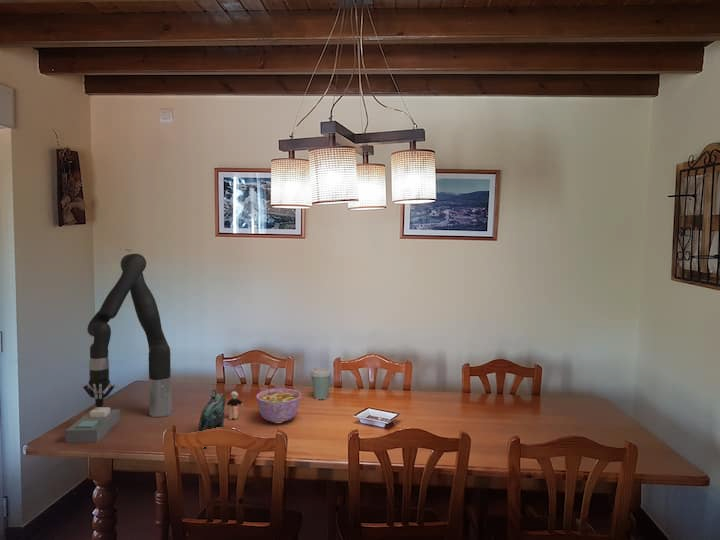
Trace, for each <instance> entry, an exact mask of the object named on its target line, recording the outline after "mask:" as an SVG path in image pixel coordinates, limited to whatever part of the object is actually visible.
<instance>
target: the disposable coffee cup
mask: <svg viewBox="0 0 720 540" xmlns="http://www.w3.org/2000/svg"><path fill="white" fill-rule="evenodd" d="M331 375H332V372H331V371H330V369H328V368H324V367H314V368H312V369H311V371H310V376H311V385H312V391H313V397H314V399H315V398H318V399H324V398H327V399H328V395H329V389H330V383H331V378H332V377H331Z"/></svg>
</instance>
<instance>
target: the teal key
mask: <svg viewBox="0 0 720 540" xmlns="http://www.w3.org/2000/svg"><path fill="white" fill-rule="evenodd" d="M98 423H99V421H83V422H81V423H80V424H79V425H78V426H77V428H93V427H95V426H96V425H97V424H98Z"/></svg>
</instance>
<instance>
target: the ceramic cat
mask: <svg viewBox="0 0 720 540" xmlns="http://www.w3.org/2000/svg"><path fill="white" fill-rule="evenodd" d="M225 406H226V396H225V394H224V393H220V392H219V391H218V390H217V389H213V390H212V391H211V392H210V399H209V401H208V402H207V403H205V405H204V407H203V409H202V411H201V414H200V417H199V423H198V432H199V431H203V430H206V429H212V428H216V427H223V428H225V427H224V426H225V425H224V420H225Z"/></svg>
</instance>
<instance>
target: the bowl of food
mask: <svg viewBox="0 0 720 540" xmlns="http://www.w3.org/2000/svg"><path fill="white" fill-rule="evenodd" d="M255 396H256V397H255V398H256V401H257V406H258V410H259V413H260V414H261V417H262V418H263V419H265V420H266V421H268V422H270V421H271V422H270V423H272V422H284V421H286V422H287V421H289V420H292V419H293V418H294V417H295V416H296V414H297V412H298V408H299V405H300V401H301V397H302V394H301V392H300V391H297V390H295V389H292V388H291V389H290V388H270V389H266V390H263V391H260V392H259V393H257V394H256V395H255ZM284 423H285V422H284Z"/></svg>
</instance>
